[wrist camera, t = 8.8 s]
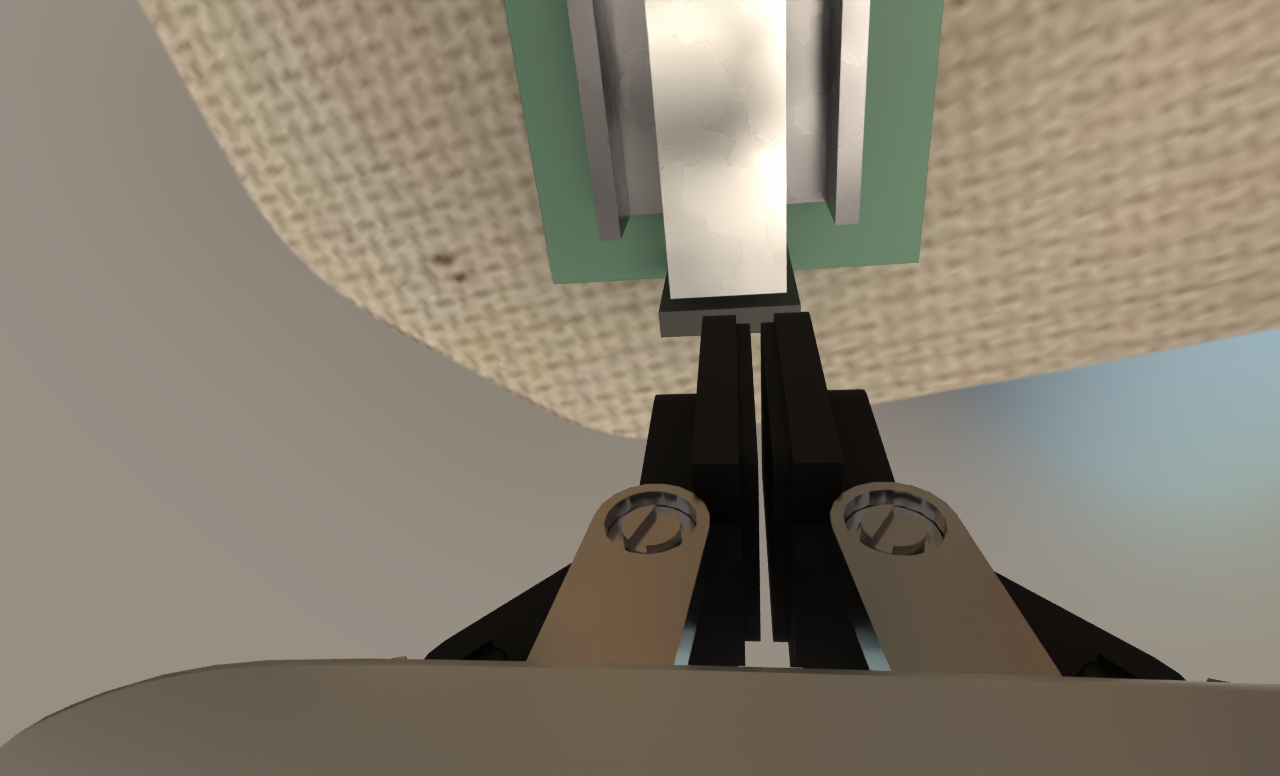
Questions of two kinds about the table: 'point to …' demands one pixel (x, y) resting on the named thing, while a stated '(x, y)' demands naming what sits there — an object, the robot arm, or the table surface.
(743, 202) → the clamp bar
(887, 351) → the table surface
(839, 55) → the heat sink board
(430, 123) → the table surface
